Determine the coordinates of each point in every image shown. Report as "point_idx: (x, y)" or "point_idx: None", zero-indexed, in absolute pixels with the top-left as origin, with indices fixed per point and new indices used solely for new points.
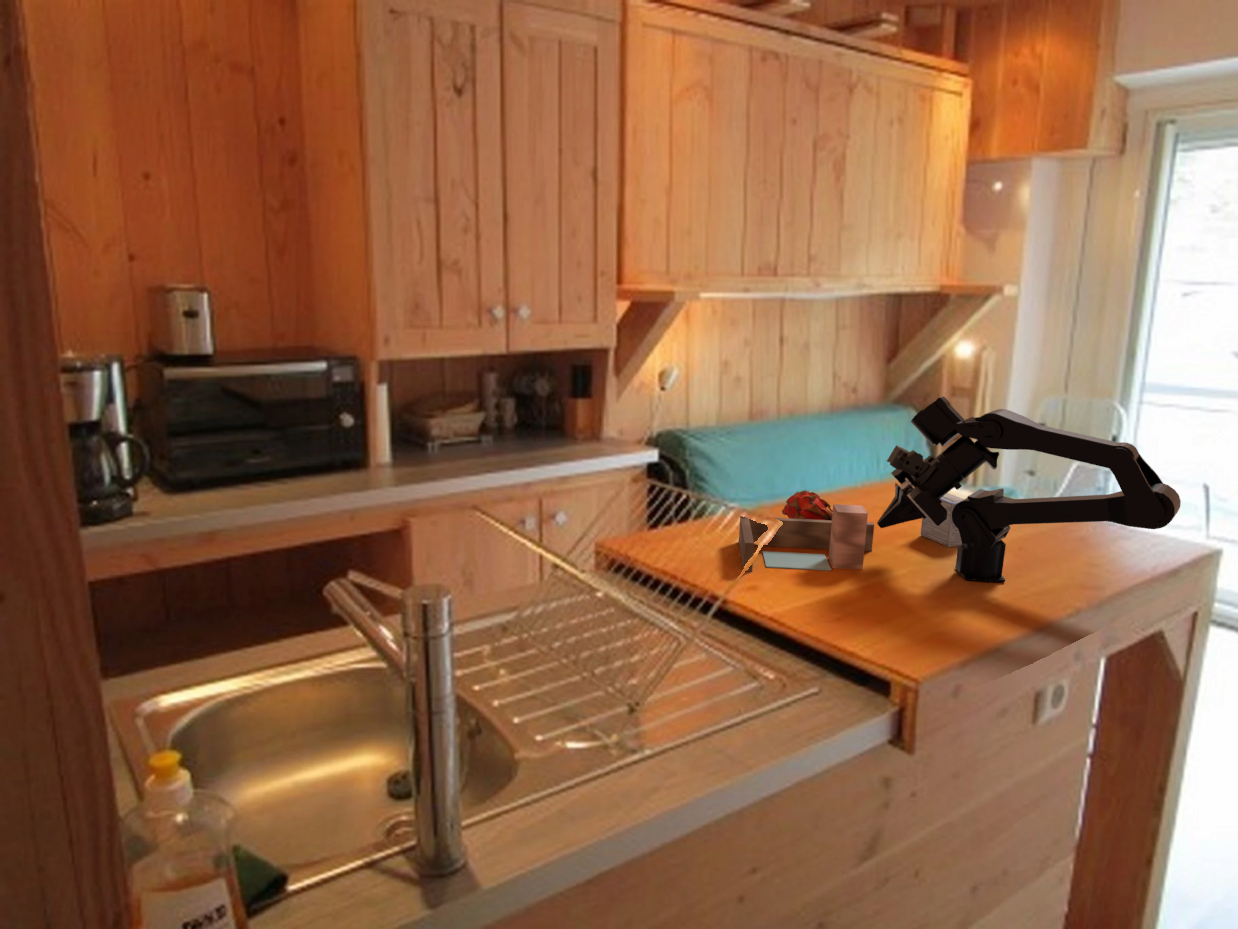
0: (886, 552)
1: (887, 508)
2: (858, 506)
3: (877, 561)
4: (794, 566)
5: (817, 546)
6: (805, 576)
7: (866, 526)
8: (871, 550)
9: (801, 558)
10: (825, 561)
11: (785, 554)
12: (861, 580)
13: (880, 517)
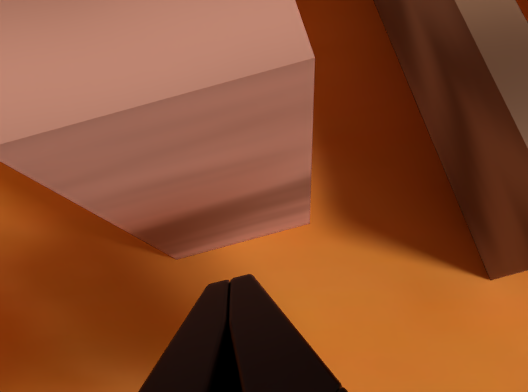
0: (517, 362)
1: (298, 376)
2: (246, 26)
3: (330, 321)
4: None
5: (393, 37)
6: None
7: (63, 195)
8: (490, 278)
9: None
10: None
11: None
12: (32, 267)
13: (265, 297)
